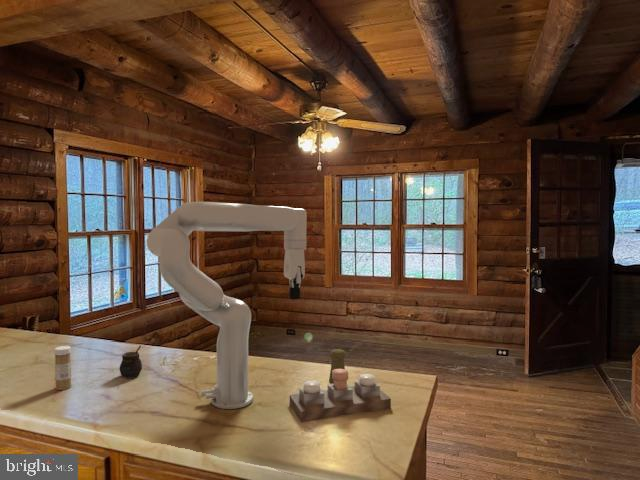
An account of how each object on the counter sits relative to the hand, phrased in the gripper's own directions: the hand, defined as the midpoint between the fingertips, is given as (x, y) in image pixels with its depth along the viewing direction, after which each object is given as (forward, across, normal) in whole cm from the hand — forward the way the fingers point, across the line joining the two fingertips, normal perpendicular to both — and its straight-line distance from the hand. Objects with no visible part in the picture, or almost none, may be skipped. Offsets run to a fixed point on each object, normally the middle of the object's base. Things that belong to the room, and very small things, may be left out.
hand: (294, 298), depth 146 cm
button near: (+26, +22, -1) cm, 34 cm away
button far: (+26, +22, +17) cm, 38 cm away
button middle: (+23, +22, +8) cm, 33 cm away
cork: (+29, +3, +15) cm, 33 cm away
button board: (+29, +22, +8) cm, 37 cm away
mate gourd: (+29, -24, -53) cm, 65 cm away
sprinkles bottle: (+29, -19, -73) cm, 81 cm away
